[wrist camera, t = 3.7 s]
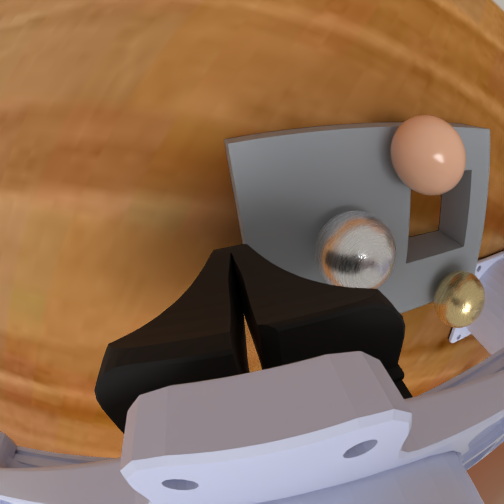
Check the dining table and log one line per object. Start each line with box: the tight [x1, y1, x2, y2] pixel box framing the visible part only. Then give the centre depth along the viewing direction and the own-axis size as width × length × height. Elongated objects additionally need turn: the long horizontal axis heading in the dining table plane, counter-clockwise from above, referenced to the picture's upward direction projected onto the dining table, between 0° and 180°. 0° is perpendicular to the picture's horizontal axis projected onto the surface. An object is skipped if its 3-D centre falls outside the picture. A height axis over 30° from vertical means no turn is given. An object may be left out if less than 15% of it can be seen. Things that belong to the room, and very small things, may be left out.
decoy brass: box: [434, 270, 485, 328], centre depth 13 cm, size 3×3×3 cm
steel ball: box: [315, 211, 396, 289], centre depth 11 cm, size 3×3×3 cm
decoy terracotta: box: [391, 115, 466, 195], centre depth 10 cm, size 3×3×3 cm
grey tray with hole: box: [224, 122, 490, 313], centre depth 14 cm, size 14×10×2 cm
